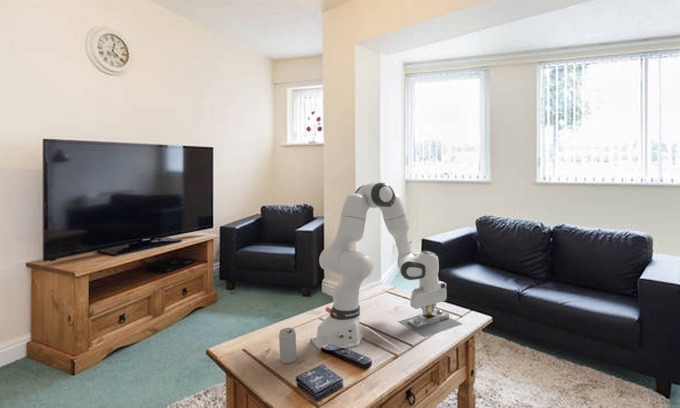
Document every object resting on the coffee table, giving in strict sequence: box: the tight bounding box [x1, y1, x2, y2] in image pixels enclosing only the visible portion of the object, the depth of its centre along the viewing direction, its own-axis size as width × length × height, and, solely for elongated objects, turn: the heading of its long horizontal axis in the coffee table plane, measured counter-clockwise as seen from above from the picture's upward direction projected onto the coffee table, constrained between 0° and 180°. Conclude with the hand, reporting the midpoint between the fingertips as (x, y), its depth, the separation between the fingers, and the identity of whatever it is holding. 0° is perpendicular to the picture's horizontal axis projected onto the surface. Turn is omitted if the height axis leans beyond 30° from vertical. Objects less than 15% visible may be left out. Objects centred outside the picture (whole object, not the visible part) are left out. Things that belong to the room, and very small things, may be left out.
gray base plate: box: [397, 315, 463, 338], centre depth 170 cm, size 24×18×1 cm
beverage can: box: [278, 327, 297, 364], centre depth 140 cm, size 6×6×12 cm
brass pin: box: [425, 305, 432, 319], centre depth 172 cm, size 3×3×8 cm
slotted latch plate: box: [408, 308, 450, 329], centre depth 172 cm, size 20×7×3 cm, turn 120°
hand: (428, 313), depth 172 cm, fingers closed on brass pin, 3 cm apart
